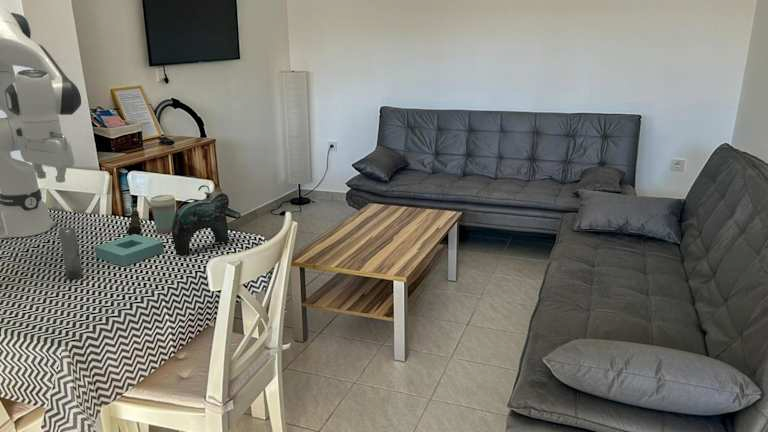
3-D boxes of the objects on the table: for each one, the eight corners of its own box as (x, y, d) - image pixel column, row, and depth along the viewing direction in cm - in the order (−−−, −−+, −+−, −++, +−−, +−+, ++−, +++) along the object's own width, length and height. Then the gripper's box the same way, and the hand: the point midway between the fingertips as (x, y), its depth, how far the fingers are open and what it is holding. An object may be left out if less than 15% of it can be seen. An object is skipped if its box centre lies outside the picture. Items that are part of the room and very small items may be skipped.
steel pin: (64, 277, 163) (55, 230, 159) (77, 273, 166) (69, 226, 162) (72, 280, 161) (64, 232, 157) (85, 275, 164) (78, 228, 160)
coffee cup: (175, 225, 208) (171, 193, 204) (182, 232, 201) (178, 198, 197) (150, 229, 203) (146, 196, 199) (156, 236, 196) (152, 202, 193)
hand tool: (141, 236, 197) (139, 223, 196) (128, 237, 196) (126, 224, 195) (144, 220, 214) (143, 208, 213) (133, 221, 213) (131, 209, 212)
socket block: (95, 257, 178) (94, 246, 177) (136, 244, 189) (134, 233, 188) (124, 266, 171) (122, 255, 170) (164, 252, 182) (163, 241, 181)
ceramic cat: (224, 237, 196) (219, 179, 190) (236, 241, 192) (231, 182, 186) (171, 253, 181) (164, 191, 175) (182, 258, 177) (175, 195, 171)
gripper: (76, 132, 157) (83, 182, 161) (34, 127, 167) (42, 174, 171) (52, 135, 152) (61, 186, 156) (11, 129, 162) (20, 178, 166)
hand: (51, 180), depth 163 cm, fingers open, 8 cm apart
